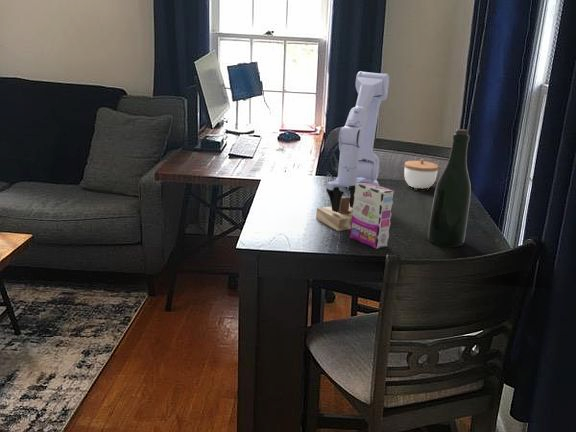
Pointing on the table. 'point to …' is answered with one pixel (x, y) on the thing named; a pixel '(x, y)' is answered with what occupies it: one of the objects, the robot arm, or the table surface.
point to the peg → (344, 205)
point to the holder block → (335, 218)
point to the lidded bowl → (420, 173)
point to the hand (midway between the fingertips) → (344, 209)
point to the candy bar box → (371, 214)
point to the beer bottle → (452, 197)
